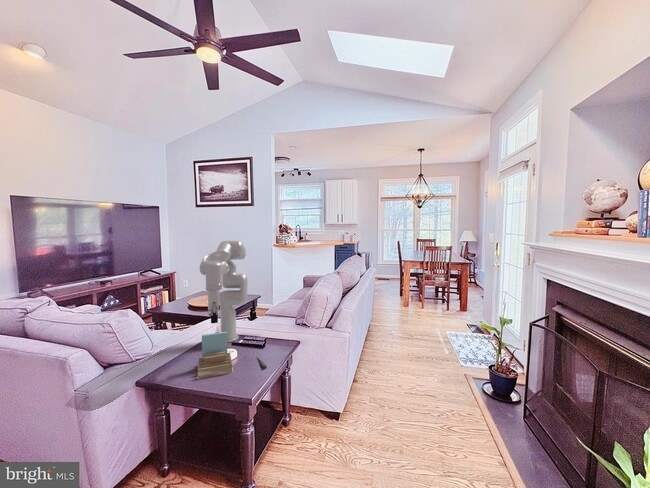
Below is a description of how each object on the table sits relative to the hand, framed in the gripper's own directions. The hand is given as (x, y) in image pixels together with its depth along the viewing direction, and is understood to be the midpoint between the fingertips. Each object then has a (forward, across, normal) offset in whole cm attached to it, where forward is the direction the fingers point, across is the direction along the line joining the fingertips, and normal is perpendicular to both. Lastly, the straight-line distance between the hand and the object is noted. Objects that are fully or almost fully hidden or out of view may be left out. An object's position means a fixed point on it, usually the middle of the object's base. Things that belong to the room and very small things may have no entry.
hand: (214, 320), depth 141 cm
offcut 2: (+23, +6, 0) cm, 24 cm away
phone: (+25, +5, +19) cm, 32 cm away
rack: (+24, +4, 0) cm, 25 cm away
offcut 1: (+23, +3, 0) cm, 23 cm away
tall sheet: (+23, -1, 0) cm, 23 cm away
